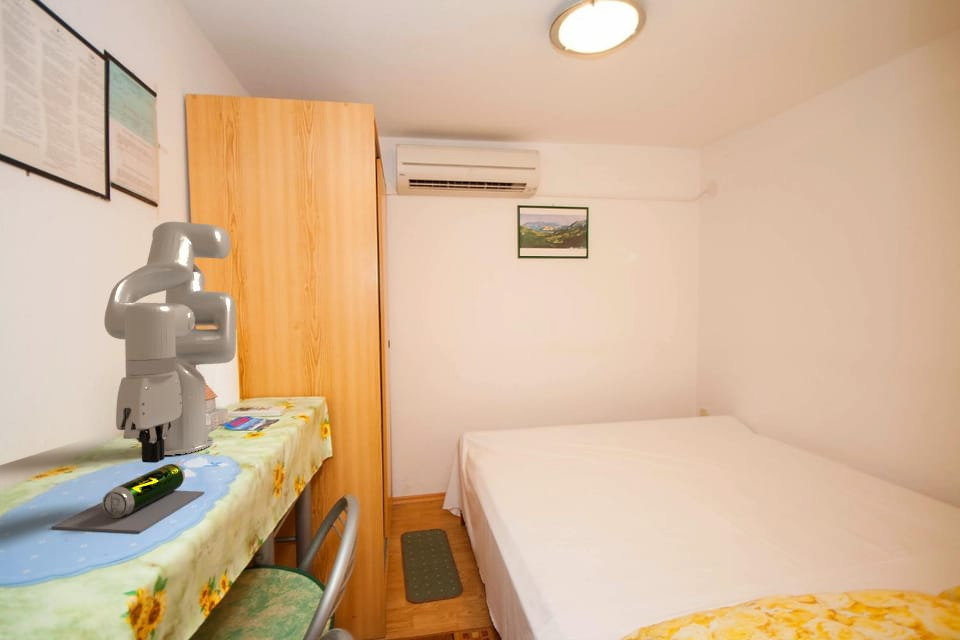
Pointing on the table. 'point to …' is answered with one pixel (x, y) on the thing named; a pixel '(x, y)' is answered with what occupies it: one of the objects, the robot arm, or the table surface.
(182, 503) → the mat
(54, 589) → the table surface
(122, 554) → the table surface
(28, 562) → the table surface
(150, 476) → the green soda can
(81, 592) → the table surface
